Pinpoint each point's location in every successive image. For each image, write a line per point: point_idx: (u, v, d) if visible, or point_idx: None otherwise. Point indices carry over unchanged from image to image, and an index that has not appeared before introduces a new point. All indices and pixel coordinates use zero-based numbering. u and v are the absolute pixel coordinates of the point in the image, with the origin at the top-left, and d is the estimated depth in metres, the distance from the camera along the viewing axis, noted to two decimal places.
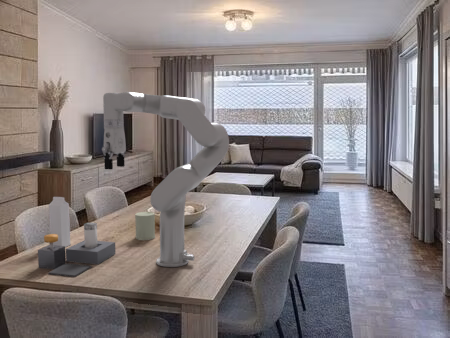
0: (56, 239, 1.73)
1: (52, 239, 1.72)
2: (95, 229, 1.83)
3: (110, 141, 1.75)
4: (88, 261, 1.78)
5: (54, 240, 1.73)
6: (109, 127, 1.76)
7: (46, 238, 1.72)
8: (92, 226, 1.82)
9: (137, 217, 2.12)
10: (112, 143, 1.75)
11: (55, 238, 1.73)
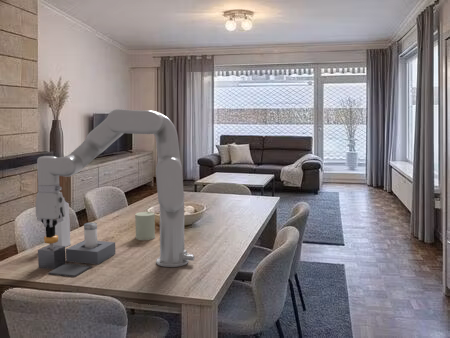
0: (56, 240, 1.73)
1: (52, 240, 1.72)
2: (95, 229, 1.83)
3: (62, 205, 1.73)
4: (88, 261, 1.78)
5: (54, 241, 1.73)
6: (57, 192, 1.71)
7: (46, 239, 1.72)
8: (92, 226, 1.82)
9: (137, 217, 2.12)
10: (64, 207, 1.73)
11: (55, 239, 1.73)
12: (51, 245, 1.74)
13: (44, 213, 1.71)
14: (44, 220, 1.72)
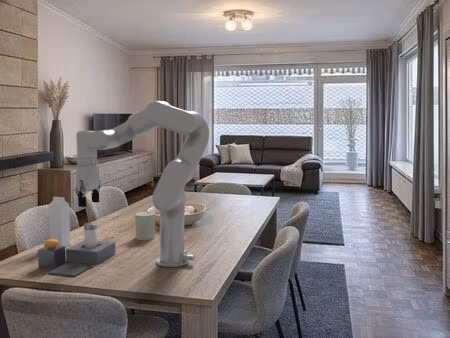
0: (56, 244, 1.74)
1: (52, 244, 1.72)
2: (95, 229, 1.83)
3: None
4: (88, 261, 1.78)
5: (54, 245, 1.73)
6: None
7: (46, 243, 1.72)
8: (92, 226, 1.82)
9: (137, 217, 2.12)
10: None
11: (55, 243, 1.73)
12: None
13: (92, 184, 1.81)
14: (85, 191, 1.78)
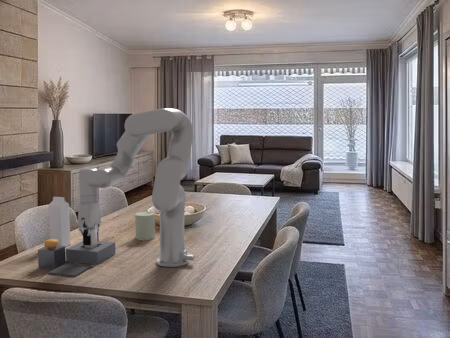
0: (56, 244, 1.74)
1: (52, 244, 1.72)
2: (95, 229, 1.83)
3: None
4: (88, 261, 1.78)
5: (54, 245, 1.73)
6: None
7: (46, 243, 1.72)
8: None
9: (137, 217, 2.12)
10: None
11: (55, 243, 1.73)
12: None
13: (94, 221, 1.83)
14: (89, 229, 1.81)
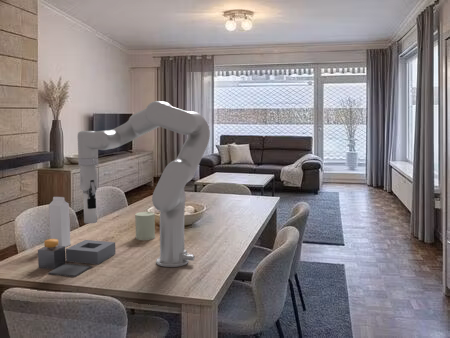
0: (56, 244, 1.74)
1: (52, 244, 1.72)
2: None
3: None
4: (88, 261, 1.78)
5: (54, 245, 1.73)
6: None
7: (46, 243, 1.72)
8: None
9: (137, 217, 2.12)
10: None
11: (55, 243, 1.73)
12: None
13: None
14: None
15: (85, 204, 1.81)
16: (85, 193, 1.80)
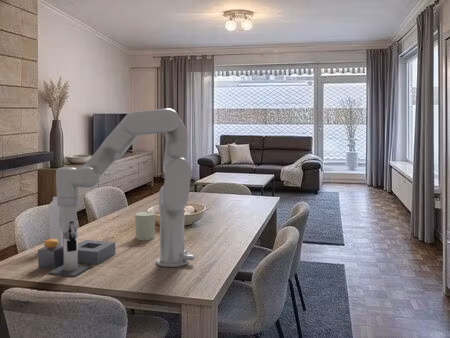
0: (56, 244, 1.74)
1: (52, 244, 1.72)
2: (77, 236, 1.69)
3: None
4: (88, 261, 1.78)
5: (54, 245, 1.73)
6: None
7: (46, 243, 1.72)
8: (76, 234, 1.68)
9: (137, 217, 2.12)
10: None
11: (55, 243, 1.73)
12: None
13: None
14: None
15: (65, 250, 1.67)
16: (65, 238, 1.66)
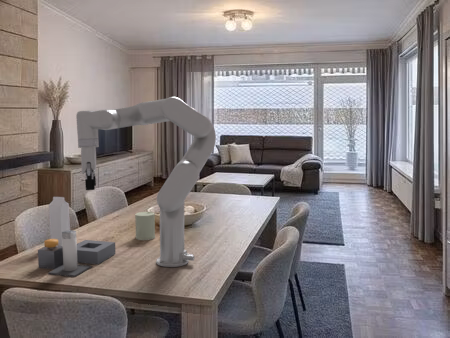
0: (56, 244, 1.74)
1: (52, 244, 1.72)
2: None
3: None
4: (88, 261, 1.78)
5: (54, 245, 1.73)
6: None
7: (46, 243, 1.72)
8: (75, 233, 1.68)
9: (137, 217, 2.12)
10: None
11: (55, 243, 1.73)
12: None
13: None
14: (93, 173, 1.71)
15: (64, 250, 1.67)
16: (64, 238, 1.66)
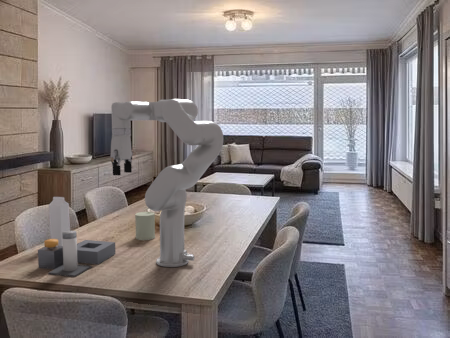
0: (56, 244, 1.74)
1: (52, 244, 1.72)
2: (76, 236, 1.69)
3: None
4: (88, 261, 1.78)
5: (54, 245, 1.73)
6: None
7: (46, 243, 1.72)
8: (75, 233, 1.68)
9: (137, 217, 2.12)
10: None
11: (55, 243, 1.73)
12: None
13: (126, 154, 1.88)
14: (120, 160, 1.85)
15: (64, 250, 1.67)
16: (64, 238, 1.66)
